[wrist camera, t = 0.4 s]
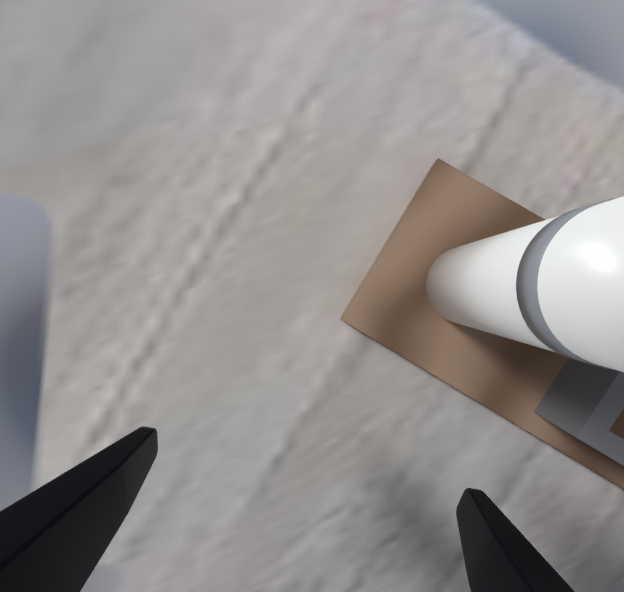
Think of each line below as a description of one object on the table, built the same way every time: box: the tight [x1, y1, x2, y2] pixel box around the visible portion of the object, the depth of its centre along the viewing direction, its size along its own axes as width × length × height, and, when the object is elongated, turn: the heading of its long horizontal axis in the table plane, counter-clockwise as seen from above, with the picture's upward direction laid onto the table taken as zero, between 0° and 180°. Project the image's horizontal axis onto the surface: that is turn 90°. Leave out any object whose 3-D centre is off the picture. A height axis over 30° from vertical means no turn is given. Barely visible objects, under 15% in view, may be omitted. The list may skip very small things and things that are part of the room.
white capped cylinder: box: [426, 196, 624, 372], centre depth 14 cm, size 5×5×12 cm
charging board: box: [340, 158, 624, 489], centre depth 21 cm, size 24×12×1 cm, turn 59°
